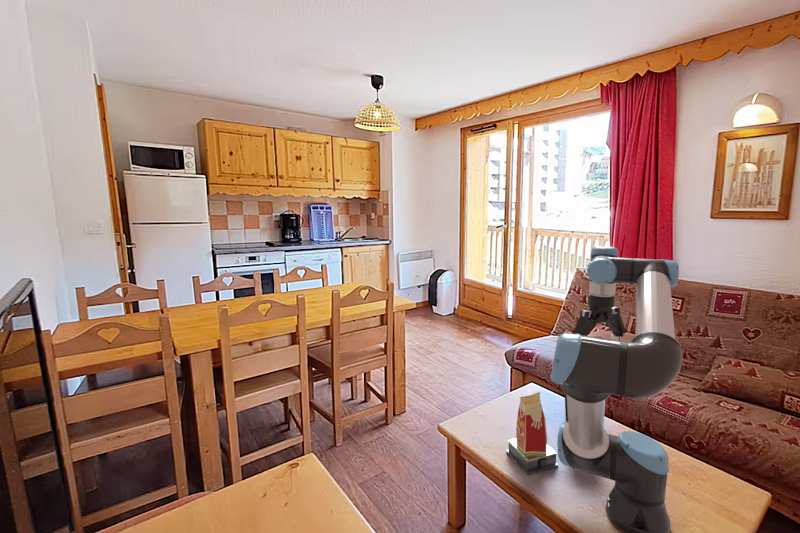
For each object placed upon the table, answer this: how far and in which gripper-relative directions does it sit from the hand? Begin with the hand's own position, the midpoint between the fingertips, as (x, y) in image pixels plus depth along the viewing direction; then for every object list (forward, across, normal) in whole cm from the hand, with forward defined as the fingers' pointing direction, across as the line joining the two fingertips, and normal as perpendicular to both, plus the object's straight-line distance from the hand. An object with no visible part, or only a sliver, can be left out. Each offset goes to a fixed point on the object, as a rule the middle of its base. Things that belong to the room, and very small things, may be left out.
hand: (597, 356), depth 126 cm
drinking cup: (+37, -11, -21) cm, 44 cm away
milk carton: (+32, +20, -6) cm, 38 cm away
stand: (+37, +20, -6) cm, 42 cm away
